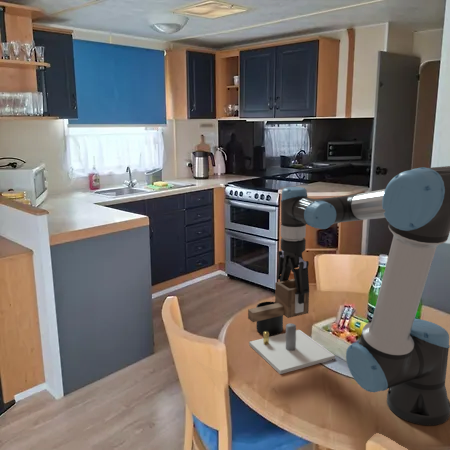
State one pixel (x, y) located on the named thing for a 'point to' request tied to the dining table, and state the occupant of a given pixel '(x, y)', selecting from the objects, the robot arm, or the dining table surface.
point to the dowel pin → (266, 337)
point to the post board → (291, 350)
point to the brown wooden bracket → (280, 303)
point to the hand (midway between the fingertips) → (291, 307)
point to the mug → (270, 322)
